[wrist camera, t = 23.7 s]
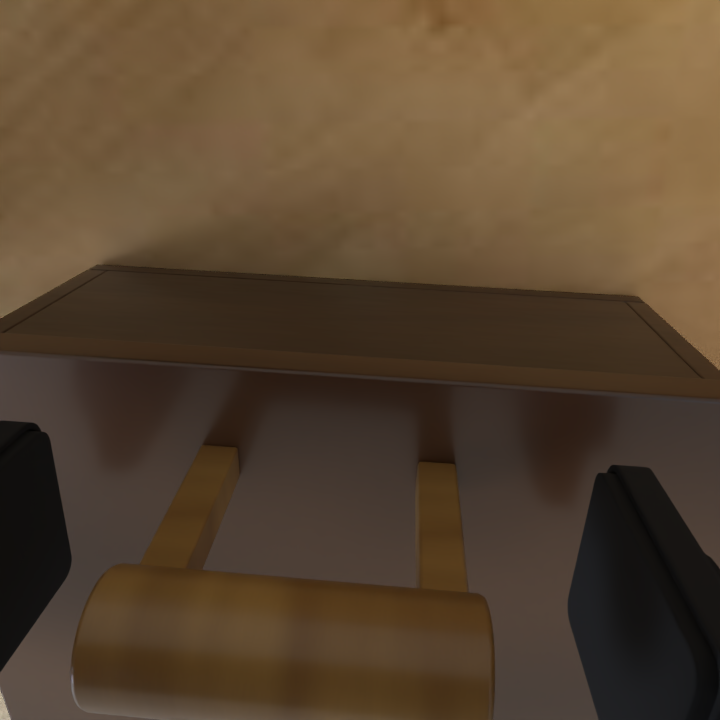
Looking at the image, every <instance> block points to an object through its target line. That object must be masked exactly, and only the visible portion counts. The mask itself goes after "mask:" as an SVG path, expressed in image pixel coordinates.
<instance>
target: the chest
mask: <svg viewBox="0 0 720 720" xmlns="http://www.w3.org/2000/svg"><path fill="white" fill-rule="evenodd" d="M0 333H12V334H28V335H43V336H58V337H73V338H89V339H104V340H119V341H134V342H149V343H165V344H180V345H195V346H210V347H226V348H241V349H256V350H271V351H286V352H302V353H317V354H332V355H347V356H363V357H378V358H393V359H408V360H424V361H439V362H454V363H469V364H484V365H500V366H515V367H530V368H545V369H561V370H576V371H591V372H606V373H621V374H637V375H652V376H667V377H682V378H698V379H713V380H720V370H719V369H717V368H716V367H715V366H714V365H713V364H712V363H711V362H710V361H709V360H708V359H706V358H705V357H704V356H703V355H702V354H701V353H700V352H699V351H698V350H697V349H695V348H694V347H693V346H692V345H691V344H690V343H689V342H688V341H687V340H686V339H685V338H683V337H682V336H681V335H680V334H679V333H678V332H677V331H676V330H675V329H674V328H672V327H671V326H670V325H669V324H668V323H667V322H666V321H665V320H664V319H663V318H661V317H660V316H659V315H658V314H657V313H656V312H655V311H654V310H653V309H652V308H650V307H649V306H648V305H647V304H646V303H645V302H644V301H643V300H641V299H640V298H639V297H635V296H618V295H601V294H584V293H567V292H551V291H534V290H517V289H500V288H483V287H466V286H449V285H433V284H416V283H399V282H382V281H365V280H348V279H331V278H314V277H298V276H281V275H264V274H247V273H230V272H213V271H196V270H179V269H163V268H146V267H129V266H112V265H96V266H94V267H92V268H90V269H89V270H87V271H85V272H83V273H81V274H79V275H78V276H76V277H74V278H72V279H70V280H69V281H67V282H65V283H63V284H62V285H60V286H58V287H56V288H54V289H53V290H51V291H49V292H47V293H45V294H44V295H42V296H40V297H38V298H37V299H35V300H33V301H31V302H29V303H28V304H26V305H24V306H22V307H20V308H19V309H17V310H15V311H13V312H12V313H10V314H8V315H6V316H4V317H3V318H1V319H0Z"/></svg>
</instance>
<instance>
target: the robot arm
mask: <svg viewBox="0 0 720 720" xmlns="http://www.w3.org/2000/svg"><path fill="white" fill-rule="evenodd" d="M71 562H72V555H71V549H70V544H69V539H68V533H67V528H66V522H65V517H64V512H63V506H62V501H61V495H60V490H59V485H58V479H57V474H56V468H55V463H54V458H53V452H52V447H51V441H50V438H49V436H48V434H47V433H45V432H41V429H40V428H39V426H38V425H37V424H35V423H32V422H18V421H4V420H3V421H0V672H1V671H2V669H3V668H4V667H5V665H6V664H7V662H8V661H9V659H10V658H11V657H12V655H13V654H14V652H15V651H16V649H17V648H18V647H19V645H20V644H21V642H22V641H23V639H24V638H25V637H26V635H27V634H28V632H29V631H30V629H31V628H32V627H33V625H34V624H35V622H36V621H37V619H38V618H39V617H40V615H41V614H42V612H43V611H44V609H45V608H46V607H47V605H48V604H49V602H50V601H51V599H52V598H53V597H54V595H55V594H56V592H57V591H58V589H59V588H60V587H61V585H62V584H63V582H64V581H65V580H66V578H67V576H68V574H69V571H70V568H71ZM568 618H569V622H570V626H571V629H572V633H573V636H574V639H575V643H576V646H577V649H578V653H579V656H580V659H581V663H582V666H583V669H584V673H585V676H586V679H587V683H588V686H589V689H590V693H591V696H592V699H593V703H594V706H595V709H596V713H597V716H598V719H599V720H720V569H719V567H718V566H717V564H716V563H715V562H714V561H713V559H712V558H711V557H710V556H708V555H706V554H705V553H704V552H703V550H702V548H701V547H700V545H699V544H698V542H697V541H696V539H695V537H694V536H693V534H692V533H691V531H690V529H689V528H688V526H687V525H686V523H685V522H684V520H683V518H682V517H681V515H680V514H679V512H678V511H677V509H676V507H675V506H674V504H673V503H672V501H671V500H670V498H669V496H668V495H667V493H666V492H665V490H664V488H663V487H662V485H661V484H660V482H659V481H658V479H657V477H656V476H655V474H654V473H653V471H652V470H651V469H650V468H648V467H638V466H625V465H611V466H610V467H609V469H608V470H607V473H598V474H597V476H596V478H595V481H594V486H593V490H592V495H591V499H590V503H589V508H588V512H587V517H586V521H585V525H584V530H583V534H582V539H581V543H580V547H579V552H578V556H577V561H576V565H575V569H574V574H573V578H572V583H571V587H570V591H569V596H568Z"/></svg>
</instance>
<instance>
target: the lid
mask: <svg viewBox="0 0 720 720" xmlns="http://www.w3.org/2000/svg"><path fill="white" fill-rule="evenodd" d="M3 420H4V421H18V422H32V423H35V424H37V425H38V426H39V428H40V429H41V432H45V433H47V434H48V436H49V438H50V441H51V447H52V452H53V458H54V463H55V468H56V474H57V479H58V485H59V490H60V495H61V501H62V506H63V512H64V517H65V522H66V528H67V533H68V539H69V544H70V549H71V555H72V562H71V568H70V571H69V574H68V576H67V578H66V580H65V581H64V582H63V584H62V585H61V587H60V588H59V589H58V591H57V592H56V594H55V595H54V597H53V598H52V599H51V601H50V602H49V604H48V605H47V607H46V608H45V609H44V611H43V612H42V614H41V615H40V617H39V618H38V619H37V621H36V622H35V624H34V625H33V627H32V628H31V629H30V631H29V632H28V634H27V635H26V637H25V638H24V639H23V641H22V642H21V644H20V645H19V647H18V648H17V649H16V651H15V652H14V654H13V655H12V657H11V658H10V659H9V661H8V662H7V664H6V665H5V667H4V668H3V669H2V671H1V672H0V690H1V693H2V696H3V699H4V701H5V704H6V707H7V710H8V713H9V715H10V718H11V720H599V719H598V716H597V713H596V709H595V706H594V703H593V699H592V696H591V693H590V689H589V686H588V683H587V679H586V676H585V673H584V669H583V666H582V663H581V659H580V656H579V653H578V649H577V646H576V643H575V639H574V636H573V633H572V629H571V626H570V622H569V618H568V596H569V591H570V587H571V583H572V578H573V574H574V569H575V565H576V561H577V556H578V552H579V547H580V543H581V539H582V534H583V530H584V525H585V521H586V517H587V512H588V508H589V503H590V499H591V495H592V490H593V486H594V481H595V478H596V476H597V474H598V473H607V470H608V469H609V467H610V466H611V465H625V466H638V467H648V468H650V469H651V470H652V471H653V473H654V474H655V476H656V477H657V479H658V481H659V482H660V484H661V485H662V487H663V488H664V490H665V492H666V493H667V495H668V496H669V498H670V500H671V501H672V503H673V504H674V506H675V507H676V509H677V511H678V512H679V514H680V515H681V517H682V518H683V520H684V522H685V523H686V525H687V526H688V528H689V529H690V531H691V533H692V534H693V536H694V537H695V539H696V541H697V542H698V544H699V545H700V547H701V548H702V550H703V552H704V553H705V554H706V555H708V556H710V557H711V558H712V559H713V561H714V562H715V563H716V564H717V566H718V567H719V569H720V380H713V379H698V378H682V377H667V376H652V375H637V374H621V373H606V372H591V371H576V370H561V369H545V368H530V367H515V366H500V365H484V364H469V363H454V362H439V361H424V360H408V359H393V358H378V357H363V356H347V355H332V354H317V353H302V352H286V351H271V350H256V349H241V348H226V347H210V346H195V345H180V344H165V343H149V342H134V341H119V340H104V339H89V338H73V337H58V336H43V335H28V334H12V333H0V421H3Z"/></svg>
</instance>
